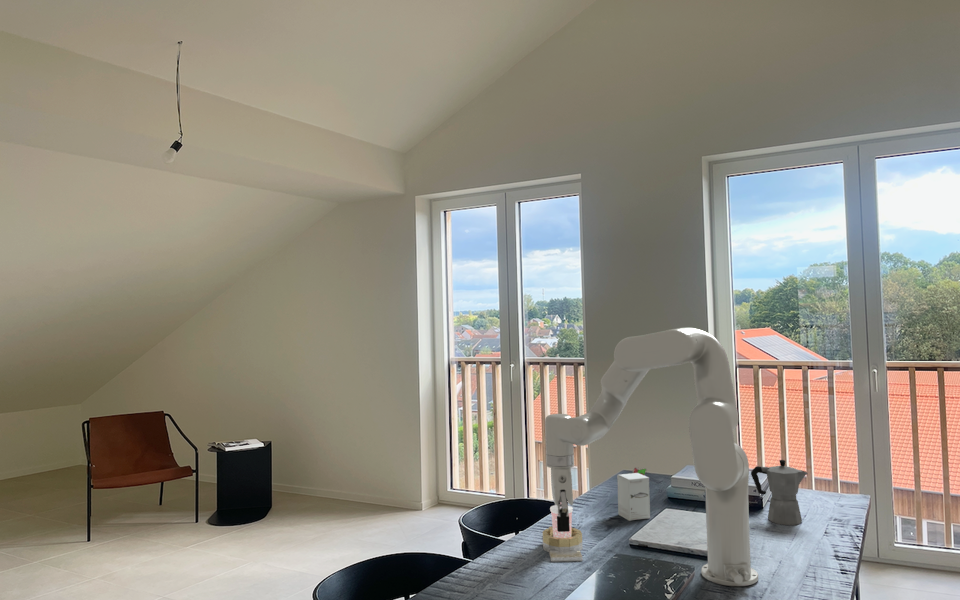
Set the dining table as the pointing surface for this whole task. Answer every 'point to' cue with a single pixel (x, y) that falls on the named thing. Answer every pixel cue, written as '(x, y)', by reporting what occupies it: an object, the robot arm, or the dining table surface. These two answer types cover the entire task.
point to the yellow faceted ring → (562, 542)
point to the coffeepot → (781, 492)
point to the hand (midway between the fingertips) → (562, 526)
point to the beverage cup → (554, 522)
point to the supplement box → (633, 496)
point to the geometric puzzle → (639, 471)
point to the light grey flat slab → (564, 552)
